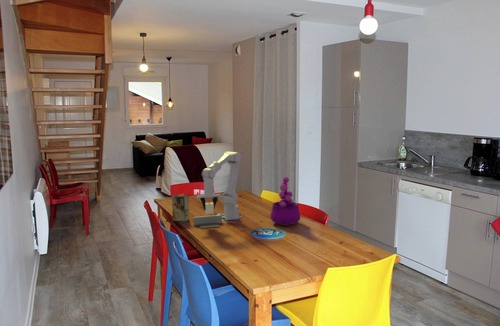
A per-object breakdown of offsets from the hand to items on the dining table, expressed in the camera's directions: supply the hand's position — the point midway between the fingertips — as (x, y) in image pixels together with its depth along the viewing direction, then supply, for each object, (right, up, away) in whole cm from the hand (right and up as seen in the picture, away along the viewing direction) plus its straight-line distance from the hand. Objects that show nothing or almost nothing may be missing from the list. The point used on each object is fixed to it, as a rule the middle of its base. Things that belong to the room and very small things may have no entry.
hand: (209, 209), depth 256 cm
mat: (0, -10, +1) cm, 10 cm away
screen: (-1, -10, +6) cm, 11 cm away
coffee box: (-20, -9, +15) cm, 26 cm away
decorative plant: (+47, -10, +7) cm, 49 cm away
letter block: (0, -2, +1) cm, 2 cm away
